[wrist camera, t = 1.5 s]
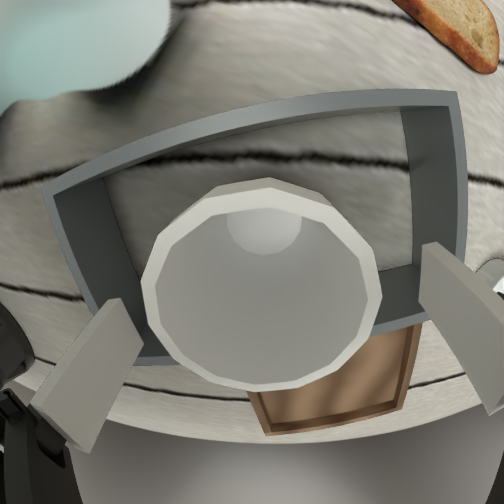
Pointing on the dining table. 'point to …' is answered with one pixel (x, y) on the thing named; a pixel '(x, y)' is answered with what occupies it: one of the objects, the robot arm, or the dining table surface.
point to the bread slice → (460, 28)
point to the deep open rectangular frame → (256, 117)
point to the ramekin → (493, 274)
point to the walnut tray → (345, 388)
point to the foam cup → (261, 286)
